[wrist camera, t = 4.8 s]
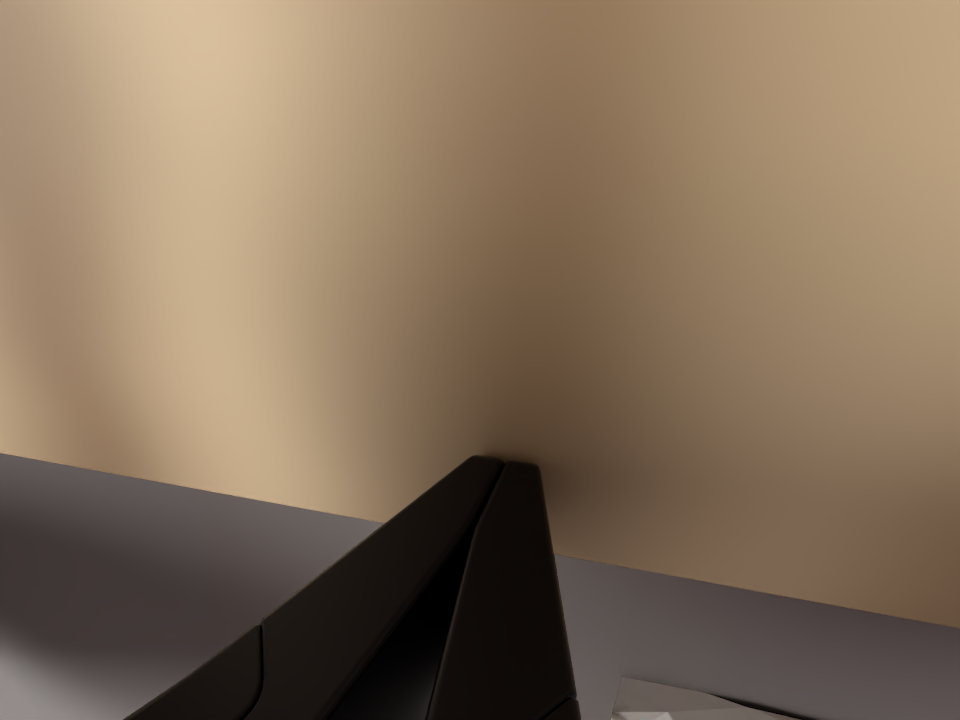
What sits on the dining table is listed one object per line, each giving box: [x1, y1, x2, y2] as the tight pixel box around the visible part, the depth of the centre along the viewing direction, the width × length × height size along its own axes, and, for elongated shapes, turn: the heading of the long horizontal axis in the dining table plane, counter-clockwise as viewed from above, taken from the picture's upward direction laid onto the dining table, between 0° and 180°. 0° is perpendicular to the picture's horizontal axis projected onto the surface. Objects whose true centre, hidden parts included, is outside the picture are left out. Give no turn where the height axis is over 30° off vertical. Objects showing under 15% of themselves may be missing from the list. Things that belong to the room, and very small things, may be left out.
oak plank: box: [0, 0, 960, 628], centre depth 8 cm, size 20×7×2 cm, turn 94°
